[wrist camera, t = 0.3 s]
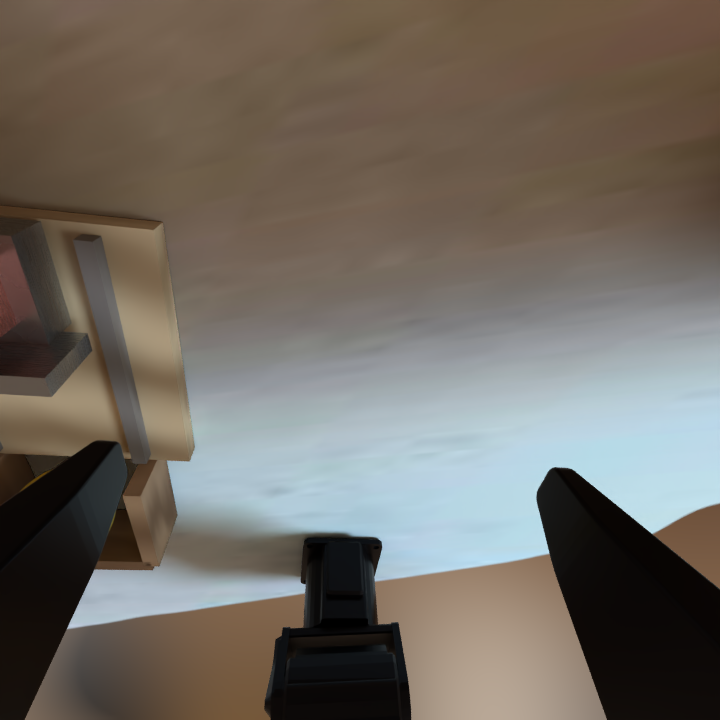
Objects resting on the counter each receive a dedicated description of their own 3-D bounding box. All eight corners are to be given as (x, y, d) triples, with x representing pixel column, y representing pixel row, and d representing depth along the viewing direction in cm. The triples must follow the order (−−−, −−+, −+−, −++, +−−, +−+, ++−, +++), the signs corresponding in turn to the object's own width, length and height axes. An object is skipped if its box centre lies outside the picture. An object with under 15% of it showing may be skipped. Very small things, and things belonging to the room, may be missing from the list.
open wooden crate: (178, 519, 32) (160, 570, 29) (38, 515, 31) (3, 567, 28) (163, 446, 28) (140, 496, 24) (-1, 438, 26) (-48, 490, 23)
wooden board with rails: (194, 447, 28) (186, 471, 26) (-35, 437, 26) (-60, 461, 25) (162, 222, 19) (146, 235, 18) (-177, 186, 18) (-229, 198, 16)
